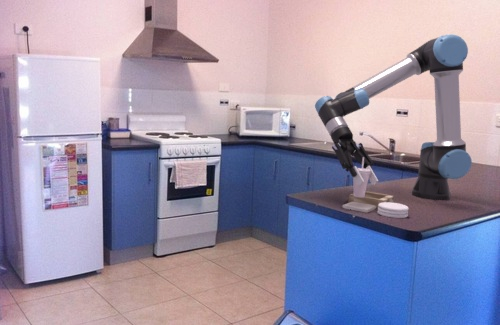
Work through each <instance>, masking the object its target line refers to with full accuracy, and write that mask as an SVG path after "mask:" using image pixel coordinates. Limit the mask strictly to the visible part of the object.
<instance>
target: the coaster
mask: <svg viewBox="0 0 500 325" xmlns="http://www.w3.org/2000/svg"><path fill="white" fill-rule="evenodd" d="M409 209H410V208H409V206H407V205H406V204H403V203H399V202H394V203H391V202H383V203H379V204H378V208H377V214H378V215H380V216H383V217H386V218H392V219H406V218H408V217H409Z"/></svg>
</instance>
